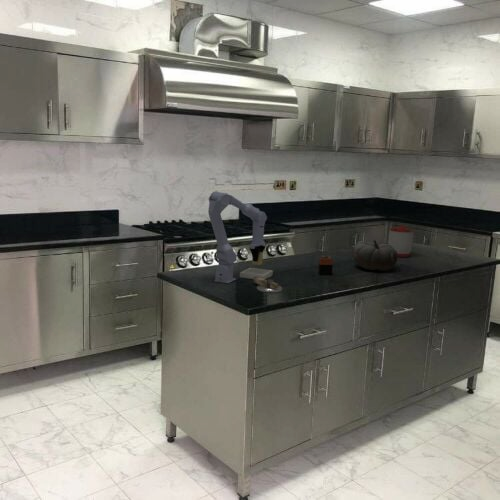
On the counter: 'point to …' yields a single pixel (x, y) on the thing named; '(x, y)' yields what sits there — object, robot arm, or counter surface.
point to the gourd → (375, 256)
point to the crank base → (268, 289)
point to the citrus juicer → (401, 240)
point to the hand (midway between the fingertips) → (257, 260)
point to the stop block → (258, 259)
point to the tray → (256, 273)
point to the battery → (325, 265)
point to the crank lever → (266, 282)
